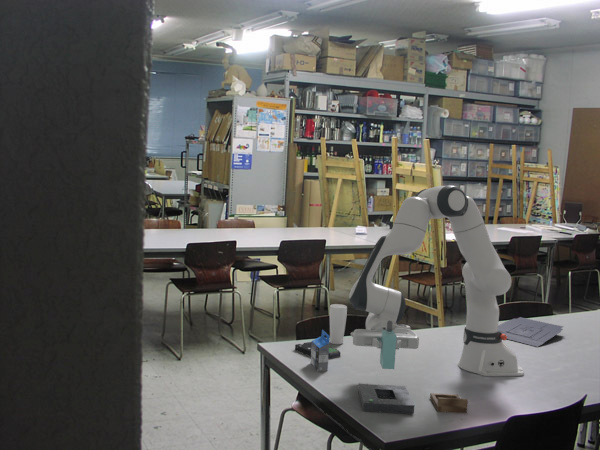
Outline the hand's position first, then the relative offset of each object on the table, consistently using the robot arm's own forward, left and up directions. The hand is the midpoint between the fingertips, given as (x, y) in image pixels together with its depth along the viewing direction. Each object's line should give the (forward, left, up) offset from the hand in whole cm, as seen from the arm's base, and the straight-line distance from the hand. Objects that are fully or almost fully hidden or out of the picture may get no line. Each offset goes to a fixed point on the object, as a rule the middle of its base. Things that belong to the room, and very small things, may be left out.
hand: (388, 346), depth 186 cm
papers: (-74, -89, -18) cm, 117 cm away
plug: (0, 0, -6) cm, 6 cm away
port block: (0, 0, -17) cm, 17 cm away
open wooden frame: (-19, 0, -17) cm, 26 cm away
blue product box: (+19, -30, -18) cm, 40 cm away
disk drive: (+19, -46, -18) cm, 53 cm away
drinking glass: (+11, -62, -17) cm, 65 cm away
